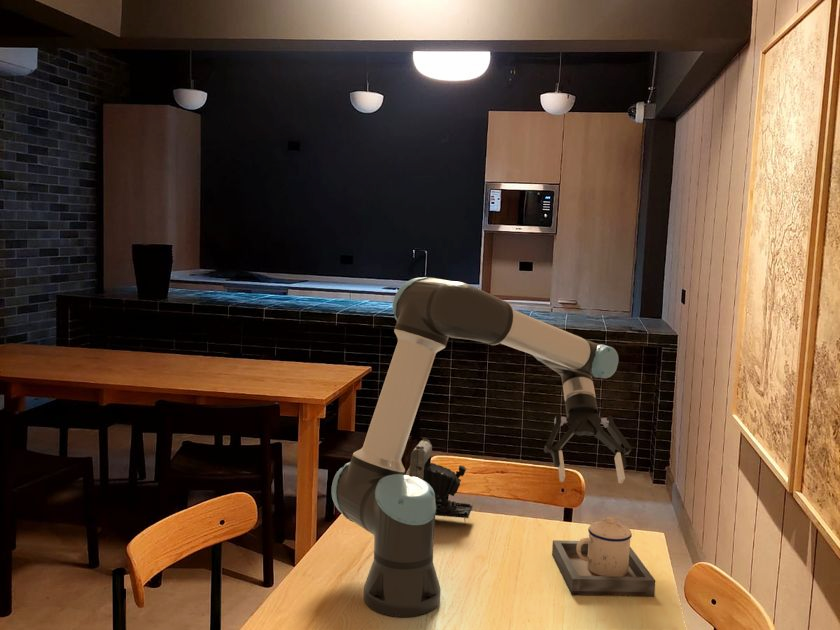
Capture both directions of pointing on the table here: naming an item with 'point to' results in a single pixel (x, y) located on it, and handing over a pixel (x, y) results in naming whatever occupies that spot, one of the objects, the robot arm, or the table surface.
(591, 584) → the tray
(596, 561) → the teacup with lid
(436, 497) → the vintage camera
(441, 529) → the table surface
